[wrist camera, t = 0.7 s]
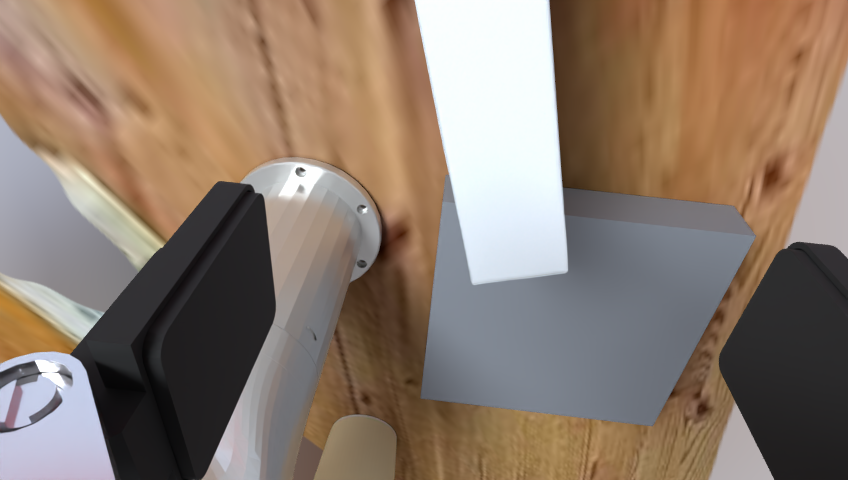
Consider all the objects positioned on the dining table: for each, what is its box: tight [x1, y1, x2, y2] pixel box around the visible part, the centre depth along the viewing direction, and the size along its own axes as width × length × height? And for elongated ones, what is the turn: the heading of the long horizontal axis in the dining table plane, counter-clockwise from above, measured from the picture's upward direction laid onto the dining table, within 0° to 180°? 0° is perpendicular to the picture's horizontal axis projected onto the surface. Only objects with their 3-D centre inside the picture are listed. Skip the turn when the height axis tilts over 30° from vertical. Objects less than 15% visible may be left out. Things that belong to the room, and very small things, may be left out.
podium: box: [421, 175, 756, 426], centre depth 45 cm, size 22×22×4 cm
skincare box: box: [415, 0, 568, 285], centre depth 27 cm, size 21×5×16 cm, turn 12°
